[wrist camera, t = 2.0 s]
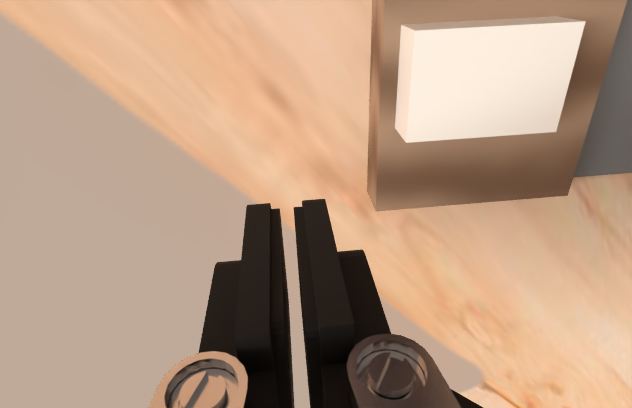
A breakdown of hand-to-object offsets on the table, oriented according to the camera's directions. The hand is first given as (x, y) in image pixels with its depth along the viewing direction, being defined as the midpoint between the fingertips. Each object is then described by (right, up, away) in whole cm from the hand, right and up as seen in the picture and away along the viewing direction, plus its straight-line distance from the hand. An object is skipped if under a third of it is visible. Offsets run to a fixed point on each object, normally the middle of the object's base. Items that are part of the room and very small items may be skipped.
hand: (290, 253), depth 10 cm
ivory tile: (+10, +9, +15) cm, 20 cm away
